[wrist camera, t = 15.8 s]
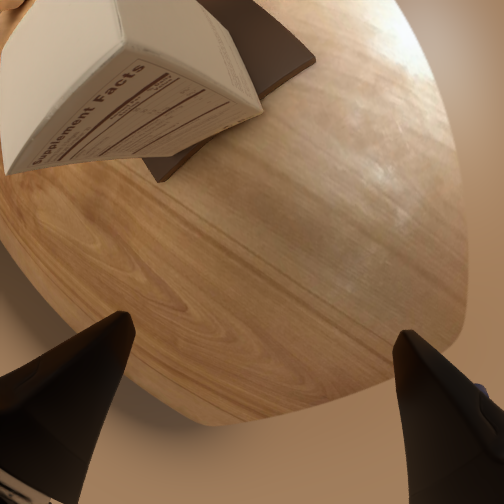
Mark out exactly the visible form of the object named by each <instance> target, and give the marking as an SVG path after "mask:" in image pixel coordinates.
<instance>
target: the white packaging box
mask: <svg viewBox="0 0 504 504" xmlns="http://www.w3.org/2000/svg"><path fill="white" fill-rule="evenodd" d="M262 113H263V108H262V106H261V103H260V101H259V98H258V95H257V93H256V90H255V88H254V86H253V83H252V81H251V79H250V76H249V74H248V72H247V70H246V68H245V65H244V63H243V61H242V59H241V57H240V55H239V52H238V50H237V48H236V46H235V44H234V42H233V40H232V38H231V36H230V34H229V32H228V30H226V29H225V28H224V27H223V26H222V25H221V24H220V23H219V22H218V21H217V20H216V19H215V18H214V17H213V16H212V15H211V14H210V13H209V12H208V11H207V10H206V9H205V8H204V7H203V6H201V5H200V4H199V3H198V2H197V1H196V0H36V1H35V3H34V4H33V5H32V6H31V8H30V9H29V10H28V12H27V13H26V14H25V16H24V17H23V18H22V20H21V21H20V23H19V24H18V25H17V27H16V28H15V30H14V31H13V33H12V34H11V36H10V37H9V39H8V41H7V42H6V44H5V46H4V48H3V50H2V53H1V64H0V135H1V145H2V155H3V162H4V171H5V175H6V176H7V175H11V174H16V173H21V172H26V171H31V170H37V169H42V168H48V167H55V166H61V165H68V164H75V163H83V162H91V161H100V160H112V159H127V158H144V157H169V156H173V155H174V154H176V153H178V152H180V151H182V150H184V149H186V148H188V147H189V146H191V145H193V144H196V143H198V142H199V141H201V140H204V139H206V138H208V137H210V136H212V135H214V134H216V133H218V132H221V131H223V130H225V129H227V128H230V127H232V126H234V125H236V124H239V123H241V122H243V121H245V120H248V119H250V118H253V117H255V116H258V115H260V114H262Z"/></svg>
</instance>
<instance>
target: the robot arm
mask: <svg viewBox="0 0 504 504" xmlns="http://www.w3.org/2000/svg"><path fill="white" fill-rule="evenodd" d="M135 334H136V332H135V327H134V324H133V321H132V318H131V315H130V314H129V313H128V312H125V311H116V312H115V313H113V314H111V315H109V316H108V317H106V318H104V319H102V320H101V321H99V322H97V323H95V324H94V325H92V326H90V327H89V328H87V329H85V330H83V331H82V332H80V333H78V334H77V335H75V336H73V337H71V338H70V339H68V340H66V341H65V342H63V343H61V344H59V345H58V346H56V347H54V348H53V349H51V350H49V351H48V352H46V353H44V354H42V355H41V356H39V357H38V358H36V359H34V360H32V361H31V362H29V363H27V364H25V365H24V366H22V367H20V368H18V369H16V370H14V371H12V372H10V373H8V374H6V375H4V376H2V377H0V504H52V503H51V502H50V499H51V498H53V499H55V500H57V501H59V502H61V503H63V504H78V501H79V497H80V494H81V490H82V486H83V483H84V480H85V477H86V473H87V470H88V467H89V464H90V461H91V457H92V454H93V451H94V448H95V445H96V443H97V440H98V437H99V434H100V431H101V429H102V426H103V423H104V421H105V418H106V415H107V413H108V410H109V407H110V405H111V402H112V400H113V397H114V395H115V392H116V390H117V387H118V385H119V383H120V380H121V378H122V375H123V373H124V370H125V367H126V364H127V360H128V357H129V354H130V351H131V348H132V344H133V341H134V338H135ZM392 354H393V363H394V372H395V383H396V393H397V399H398V405H399V410H400V416H401V422H402V429H403V436H404V443H405V452H406V461H407V472H408V485H409V504H504V411H503V410H502V409H501V408H500V407H498V406H497V405H496V404H495V403H494V402H493V401H492V400H491V399H490V398H488V397H487V396H486V395H485V394H484V393H483V392H482V391H480V389H479V388H478V387H477V386H476V385H475V384H473V383H472V382H471V381H470V380H469V379H468V378H467V377H466V376H465V375H464V374H463V373H462V372H460V371H459V370H458V369H457V368H456V367H455V366H454V365H453V364H452V363H450V362H449V361H448V360H447V359H446V358H445V357H444V356H443V355H441V354H440V353H439V352H438V351H437V350H436V349H435V348H434V347H432V346H431V345H430V344H429V343H428V342H427V341H425V340H424V339H423V338H422V337H421V336H420V335H418V334H417V333H416V332H415V331H414V330H402V331H401V332H400V334H399V336H398V338H397V340H396V342H395V345H394V347H393V351H392Z"/></svg>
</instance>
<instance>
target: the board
mask: <svg viewBox="0 0 504 504" xmlns="http://www.w3.org/2000/svg"><path fill="white" fill-rule="evenodd" d="M196 1H197V2H198V3H199V4H200V5H201V6H203V7H204V8H205V9H206V10H207V11H208V12H209V13H210V14H211V15H212V16H213V17H214V18H215V19H216V20H217V21H218V22H219V23H220V24H221V25H222V26H223V27H224V28H225V29H226V30H228V32H229V34H230V36H231V38H232V40H233V42H234V44H235V46H236V48H237V50H238V52H239V55H240V57H241V59H242V61H243V63H244V65H245V68H246V70H247V72H248V74H249V76H250V79H251V81H252V83H253V86H254V88H255V90H256V93H257V95H258V98H259V100H261V99H262V98H263V97H265V96H266V95H267V94H269V93H270V92H272V91H273V90H274V89H276V88H277V87H279V86H280V85H281V84H283V83H284V82H286V81H287V80H289V79H290V78H292V77H293V76H295V75H296V74H298V73H299V72H301V71H302V70H304V69H305V68H307V67H308V66H310V65H312V64H313V63H315V62H316V60H315V56H314V55H313V54H312V53H311V52H310V51H309V50H308V49H307V48H306V47H305V46H304V45H303V44H302V43H301V42H300V41H299V40H298V39H297V38H296V37H295V36H294V35H293V34H292V33H291V32H290V31H288V30H287V29H286V28H285V27H284V26H283V25H282V24H281V23H280V22H278V21H277V20H276V19H275V18H274V17H273V16H271V15H270V14H269V13H268V12H267V11H265V10H264V9H263V8H262V7H260V6H259V5H258V4H257V3H255V2H254V1H253V0H196ZM218 133H219V132H218ZM218 133H216V134H218ZM216 134H214V135H212V136H210V137H208V138H206V139H204V140H201V141H199V142H198V143H196V144H193V145H191V146H189V147H188V148H186V149H184V150H182V151H180V152H178V153H176V154H174V155H173V156H169V157H144V158H142V160H143V161H144V163H145V164H146V166H147V167H148V169H149V170H150V172H151V174H152V175H153V177H154V178H155V180H156V181H157V183H159V182H165V181H166V180H167V179H168V178H169V177H170V176H171V175H172V174H173V173H174V172H175V171H176V170H177V169H178V168H179V167H181V166H182V165H183V164H184V163H185V162H186V161H187V160H188V159H189V158H190V157H191V156H192V155H194V154H195V153H196V152H197V151H198V150H199V149H200V148H201V147H203V146H204V145H205V144H206V143H207V142H208V141H209V140H211V139H212V138H213V137H214V136H215V135H216Z"/></svg>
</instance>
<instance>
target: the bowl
mask: <svg viewBox="0 0 504 504" xmlns="http://www.w3.org/2000/svg"><path fill="white" fill-rule="evenodd" d="M24 1H25V0H0V13H1V12H2V11H5V10H10V9H15V8H18V7H19V6H20V5H21V4H22V3H23V2H24Z"/></svg>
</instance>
